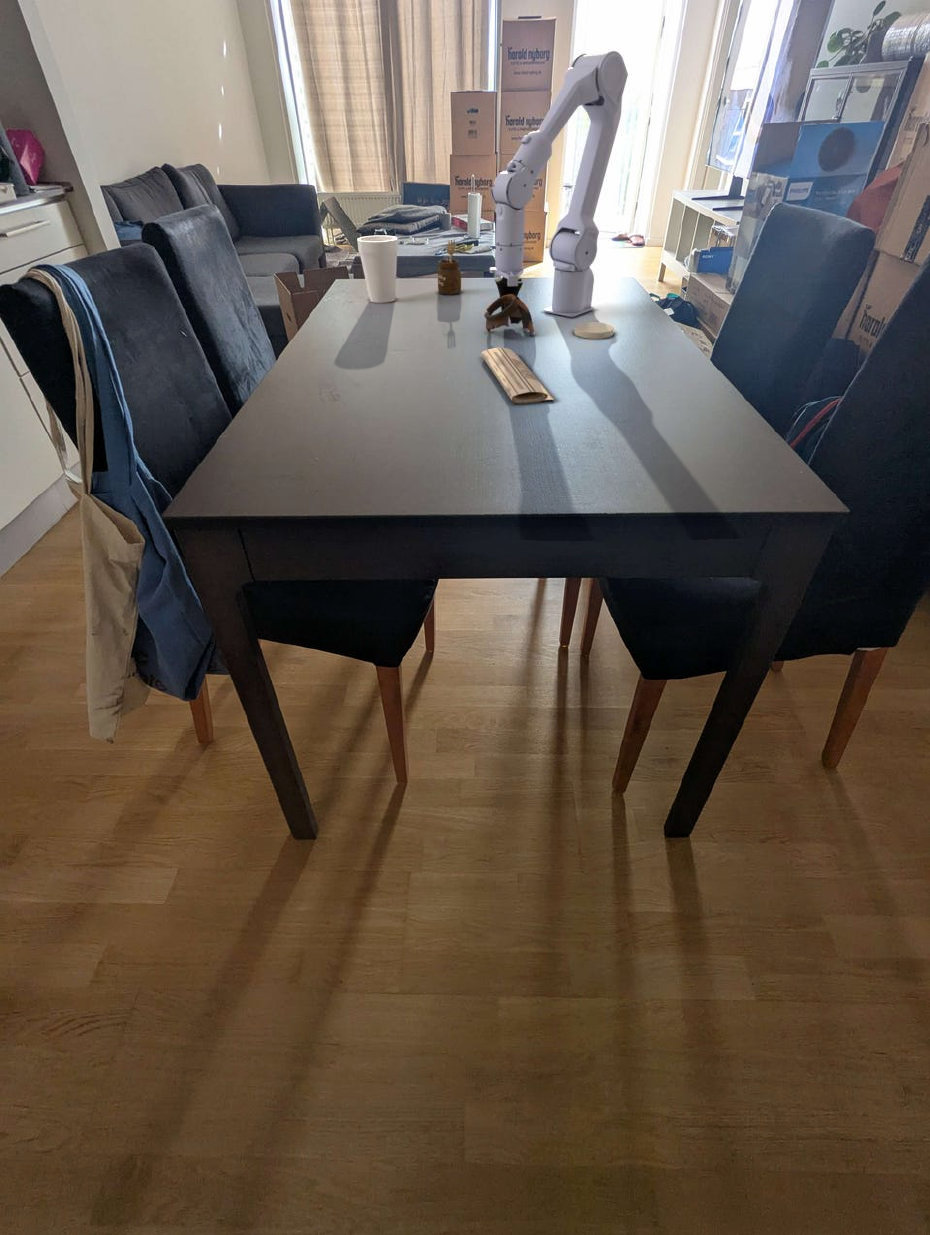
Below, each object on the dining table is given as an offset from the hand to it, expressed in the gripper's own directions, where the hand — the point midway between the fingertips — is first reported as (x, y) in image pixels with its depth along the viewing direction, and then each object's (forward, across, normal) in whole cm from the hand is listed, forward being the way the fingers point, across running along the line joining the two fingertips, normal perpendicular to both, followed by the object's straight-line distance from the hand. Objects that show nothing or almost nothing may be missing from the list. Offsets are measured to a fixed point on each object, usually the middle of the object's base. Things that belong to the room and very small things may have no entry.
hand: (507, 316), depth 134 cm
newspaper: (+2, +35, -3) cm, 35 cm away
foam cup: (+2, -24, -28) cm, 37 cm away
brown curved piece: (+2, +7, 0) cm, 7 cm away
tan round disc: (+1, +10, +17) cm, 20 cm away
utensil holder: (+2, -30, -11) cm, 32 cm away
